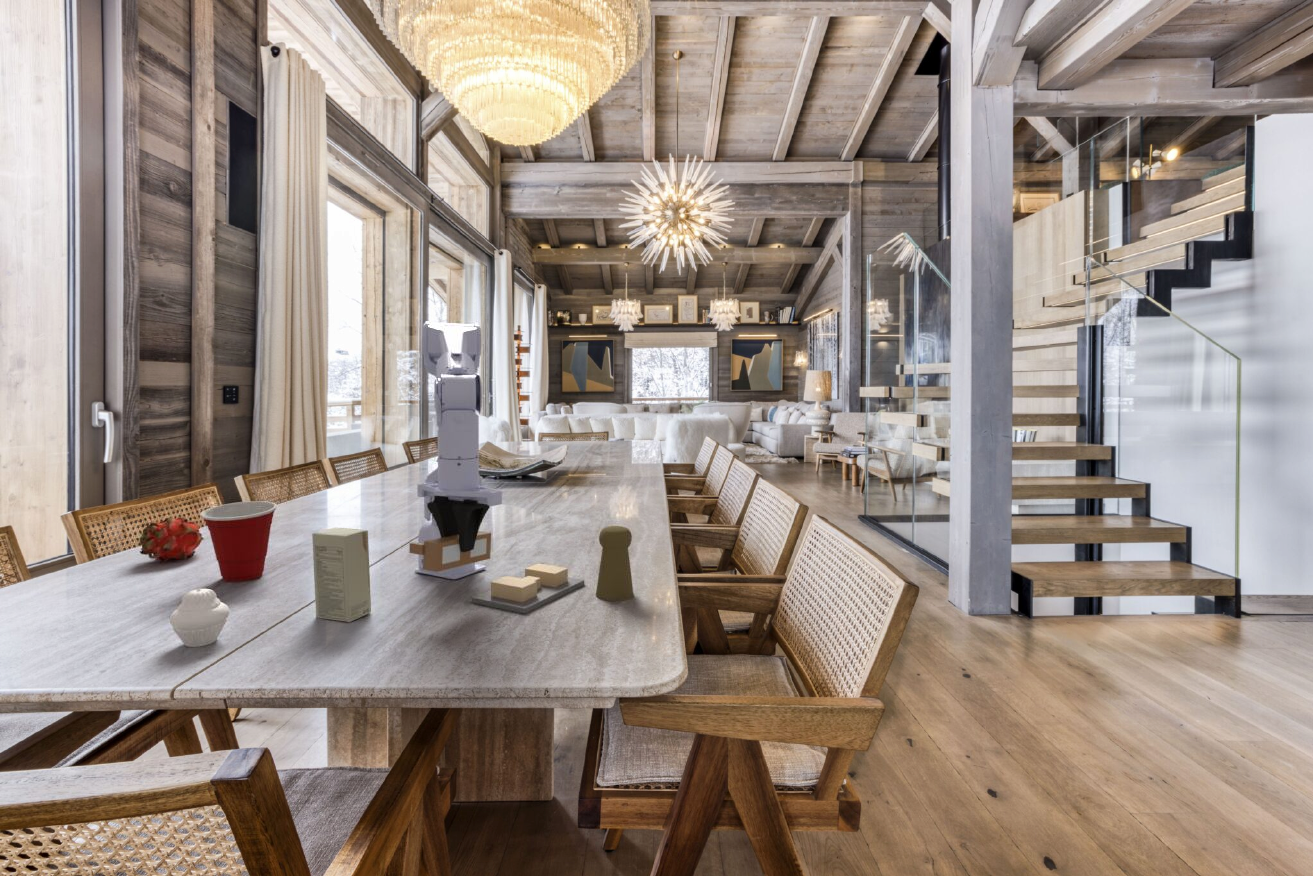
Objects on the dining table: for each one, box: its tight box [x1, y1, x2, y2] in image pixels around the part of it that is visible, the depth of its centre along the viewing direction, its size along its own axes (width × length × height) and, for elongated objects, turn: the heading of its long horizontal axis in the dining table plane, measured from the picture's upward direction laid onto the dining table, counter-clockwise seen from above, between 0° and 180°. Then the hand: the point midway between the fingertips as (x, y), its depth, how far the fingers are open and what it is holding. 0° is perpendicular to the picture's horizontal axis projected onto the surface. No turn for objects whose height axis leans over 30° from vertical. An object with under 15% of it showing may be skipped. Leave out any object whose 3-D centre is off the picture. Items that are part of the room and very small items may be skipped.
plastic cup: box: [199, 500, 278, 583], centre depth 108 cm, size 11×11×12 cm
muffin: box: [169, 587, 230, 648], centre depth 81 cm, size 6×6×7 cm
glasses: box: [408, 530, 492, 572], centre depth 96 cm, size 5×12×4 cm, turn 153°
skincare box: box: [311, 527, 372, 623], centre depth 92 cm, size 6×4×12 cm
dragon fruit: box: [139, 516, 205, 563], centre depth 119 cm, size 8×8×12 cm
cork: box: [595, 525, 634, 602], centre depth 103 cm, size 6×6×11 cm
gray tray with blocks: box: [471, 562, 585, 615], centre depth 103 cm, size 10×16×3 cm, turn 154°
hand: (458, 549), depth 95 cm, fingers closed on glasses, 3 cm apart
